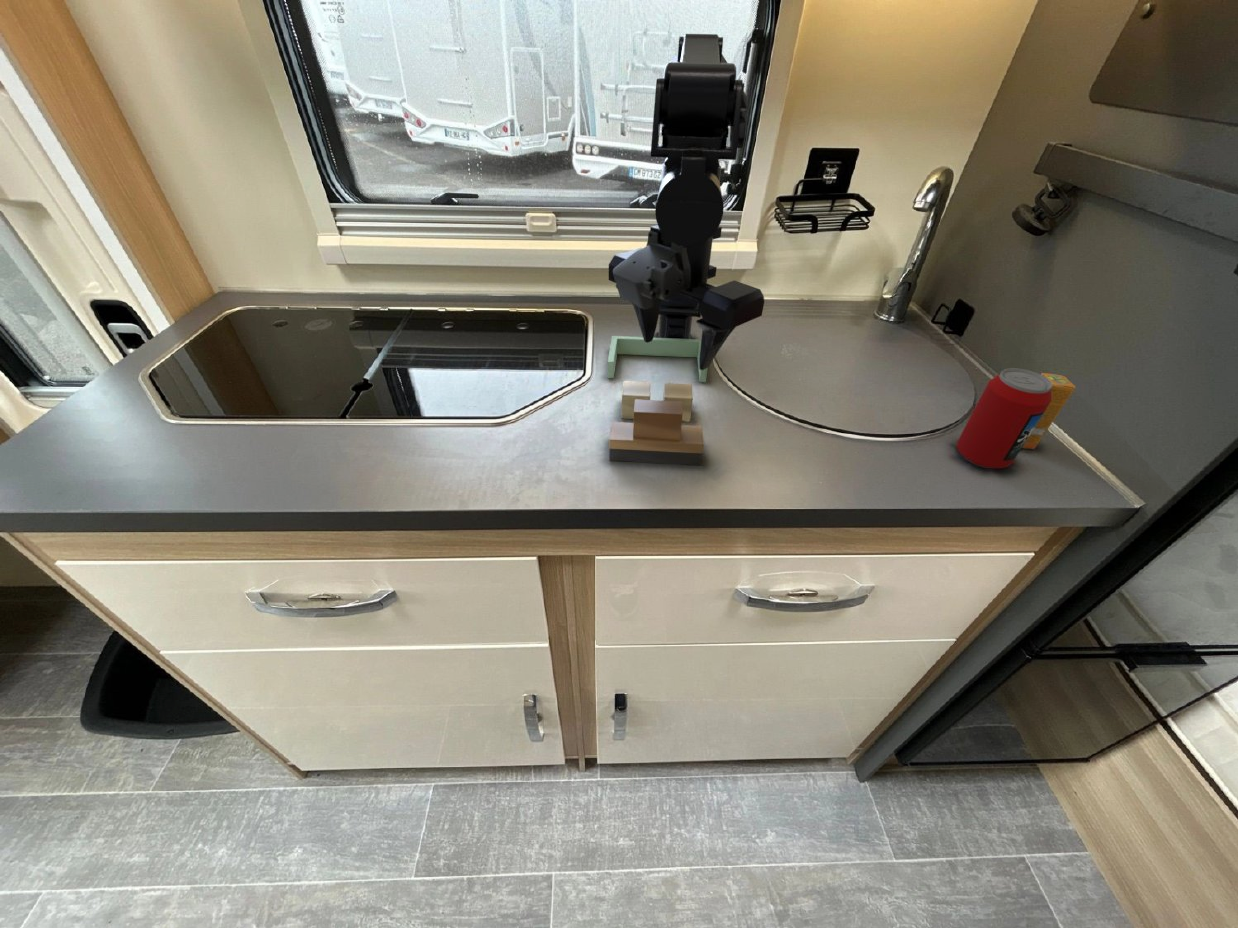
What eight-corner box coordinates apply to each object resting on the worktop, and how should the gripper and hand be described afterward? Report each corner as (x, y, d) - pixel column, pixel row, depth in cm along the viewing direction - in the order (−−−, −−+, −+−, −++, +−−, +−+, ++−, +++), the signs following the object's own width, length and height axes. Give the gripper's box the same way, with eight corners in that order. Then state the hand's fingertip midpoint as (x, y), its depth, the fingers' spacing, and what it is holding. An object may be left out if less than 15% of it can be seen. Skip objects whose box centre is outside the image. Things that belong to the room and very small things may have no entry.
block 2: (662, 405, 79) (664, 382, 77) (689, 406, 79) (691, 383, 77) (662, 420, 76) (664, 397, 74) (690, 421, 76) (692, 398, 74)
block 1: (623, 403, 80) (623, 380, 77) (649, 405, 80) (650, 382, 77) (621, 418, 77) (621, 395, 74) (648, 419, 76) (650, 396, 74)
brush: (611, 442, 72) (611, 395, 67) (699, 447, 71) (705, 400, 67) (609, 460, 69) (609, 413, 64) (700, 465, 68) (707, 417, 64)
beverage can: (1018, 476, 68) (1070, 396, 60) (961, 469, 69) (1005, 389, 61) (999, 445, 73) (1045, 368, 65) (947, 439, 74) (986, 362, 66)
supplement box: (1037, 450, 72) (1079, 387, 66) (1010, 447, 72) (1049, 384, 66) (1027, 436, 74) (1066, 374, 68) (1001, 433, 75) (1037, 371, 69)
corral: (612, 351, 93) (612, 335, 91) (702, 355, 92) (704, 339, 90) (607, 378, 86) (607, 361, 84) (705, 382, 85) (708, 366, 83)
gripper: (569, 211, 55) (575, 347, 65) (703, 255, 44) (686, 410, 54) (645, 195, 61) (640, 323, 71) (781, 231, 50) (752, 376, 60)
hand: (674, 354), depth 64 cm, fingers open, 9 cm apart
